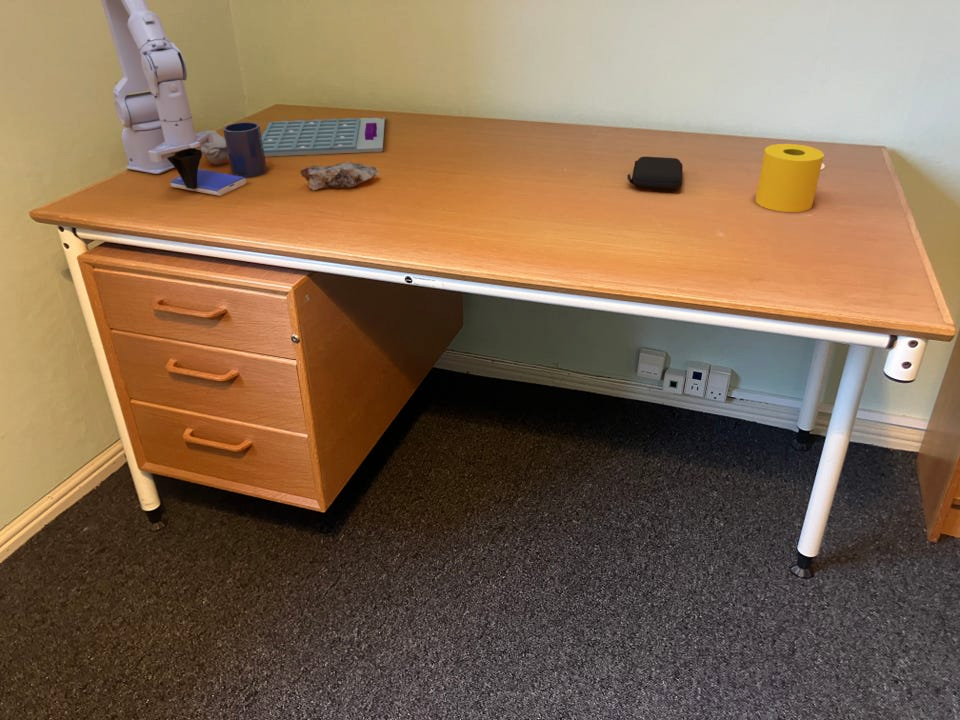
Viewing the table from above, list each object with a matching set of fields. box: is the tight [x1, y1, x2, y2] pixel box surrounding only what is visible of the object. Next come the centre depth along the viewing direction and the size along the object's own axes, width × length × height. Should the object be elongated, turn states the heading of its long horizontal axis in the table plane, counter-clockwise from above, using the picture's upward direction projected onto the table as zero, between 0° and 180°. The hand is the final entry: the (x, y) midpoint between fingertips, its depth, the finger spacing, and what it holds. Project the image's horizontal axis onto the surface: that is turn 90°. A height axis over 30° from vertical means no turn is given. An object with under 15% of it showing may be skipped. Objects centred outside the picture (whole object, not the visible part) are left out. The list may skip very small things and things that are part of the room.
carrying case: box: [626, 156, 684, 193], centre depth 151 cm, size 11×3×15 cm
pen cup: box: [222, 121, 268, 178], centre depth 157 cm, size 7×7×10 cm
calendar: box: [261, 116, 386, 158], centre depth 180 cm, size 27×29×2 cm
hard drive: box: [170, 168, 247, 197], centre depth 152 cm, size 2×8×12 cm
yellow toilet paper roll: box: [755, 143, 825, 213], centre depth 138 cm, size 10×10×9 cm
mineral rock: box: [300, 161, 380, 192], centre depth 151 cm, size 15×8×4 cm, turn 92°
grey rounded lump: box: [198, 130, 229, 166], centre depth 163 cm, size 6×7×7 cm
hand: (191, 187), depth 149 cm, fingers closed
